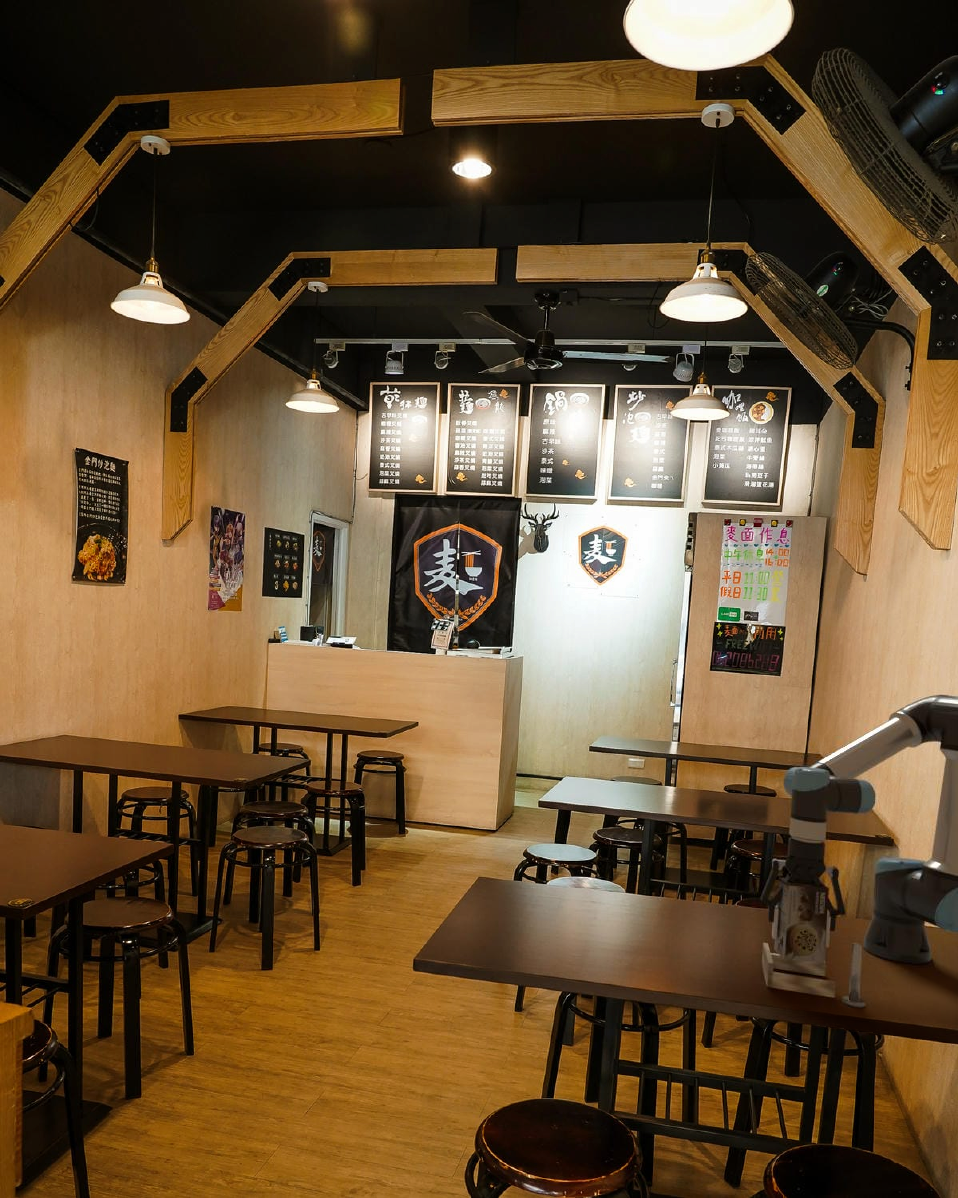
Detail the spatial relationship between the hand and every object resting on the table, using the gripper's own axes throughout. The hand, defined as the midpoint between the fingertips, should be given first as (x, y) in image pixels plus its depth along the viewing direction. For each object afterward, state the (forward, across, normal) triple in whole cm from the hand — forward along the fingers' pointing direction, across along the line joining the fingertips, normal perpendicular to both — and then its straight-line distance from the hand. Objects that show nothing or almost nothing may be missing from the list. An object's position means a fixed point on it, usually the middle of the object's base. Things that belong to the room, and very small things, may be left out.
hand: (799, 941), depth 195 cm
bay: (+9, 0, 0) cm, 9 cm away
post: (+9, -10, +8) cm, 16 cm away
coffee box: (+3, 0, 0) cm, 3 cm away
